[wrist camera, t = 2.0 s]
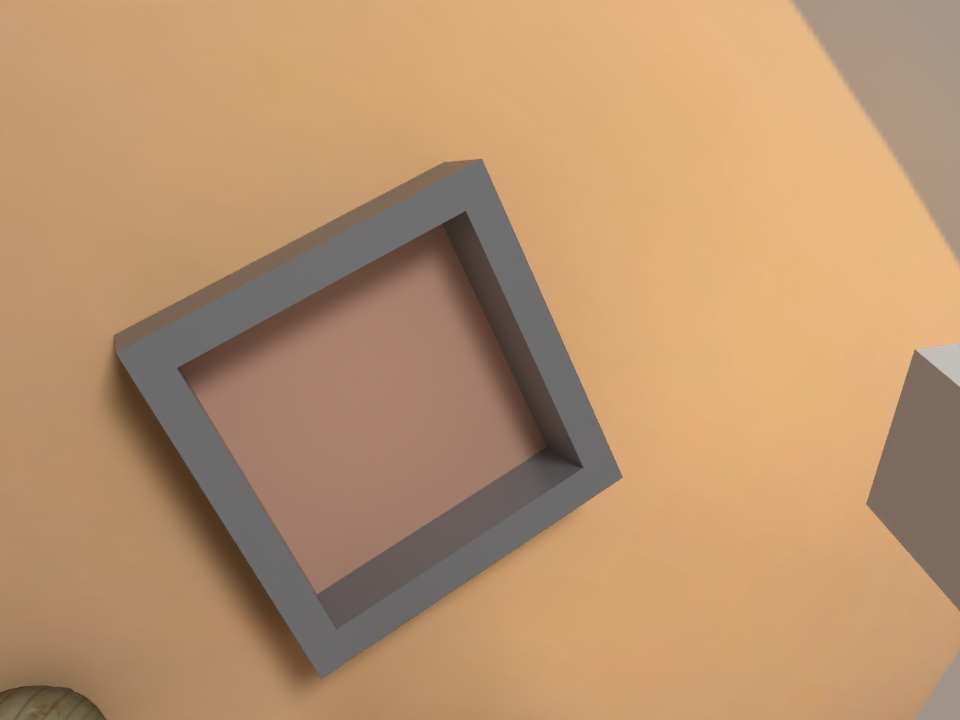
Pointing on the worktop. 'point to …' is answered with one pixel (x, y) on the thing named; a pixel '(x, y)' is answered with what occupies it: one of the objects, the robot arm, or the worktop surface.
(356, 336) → the frame
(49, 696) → the fennel bulb
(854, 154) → the worktop surface
